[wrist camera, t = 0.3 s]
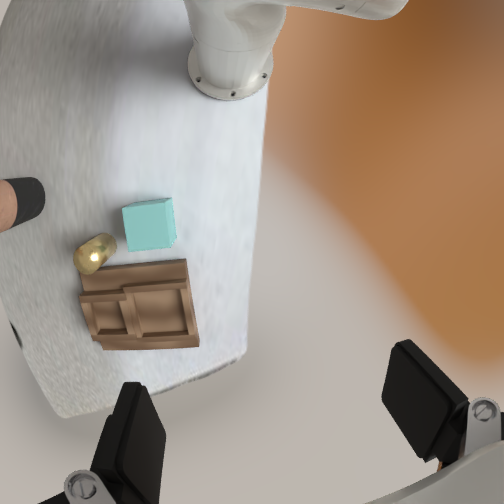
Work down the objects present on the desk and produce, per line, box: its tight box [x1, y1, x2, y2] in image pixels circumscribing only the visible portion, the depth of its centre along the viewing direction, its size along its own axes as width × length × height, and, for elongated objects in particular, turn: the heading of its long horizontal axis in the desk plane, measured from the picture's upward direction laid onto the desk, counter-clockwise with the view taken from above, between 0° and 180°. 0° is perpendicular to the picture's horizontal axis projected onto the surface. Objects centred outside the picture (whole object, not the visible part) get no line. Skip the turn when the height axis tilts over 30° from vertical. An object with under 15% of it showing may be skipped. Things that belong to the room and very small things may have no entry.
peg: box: [73, 233, 117, 275], centre depth 38 cm, size 4×4×8 cm
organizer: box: [79, 259, 200, 350], centre depth 44 cm, size 15×18×4 cm
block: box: [122, 198, 177, 252], centre depth 39 cm, size 6×6×6 cm
